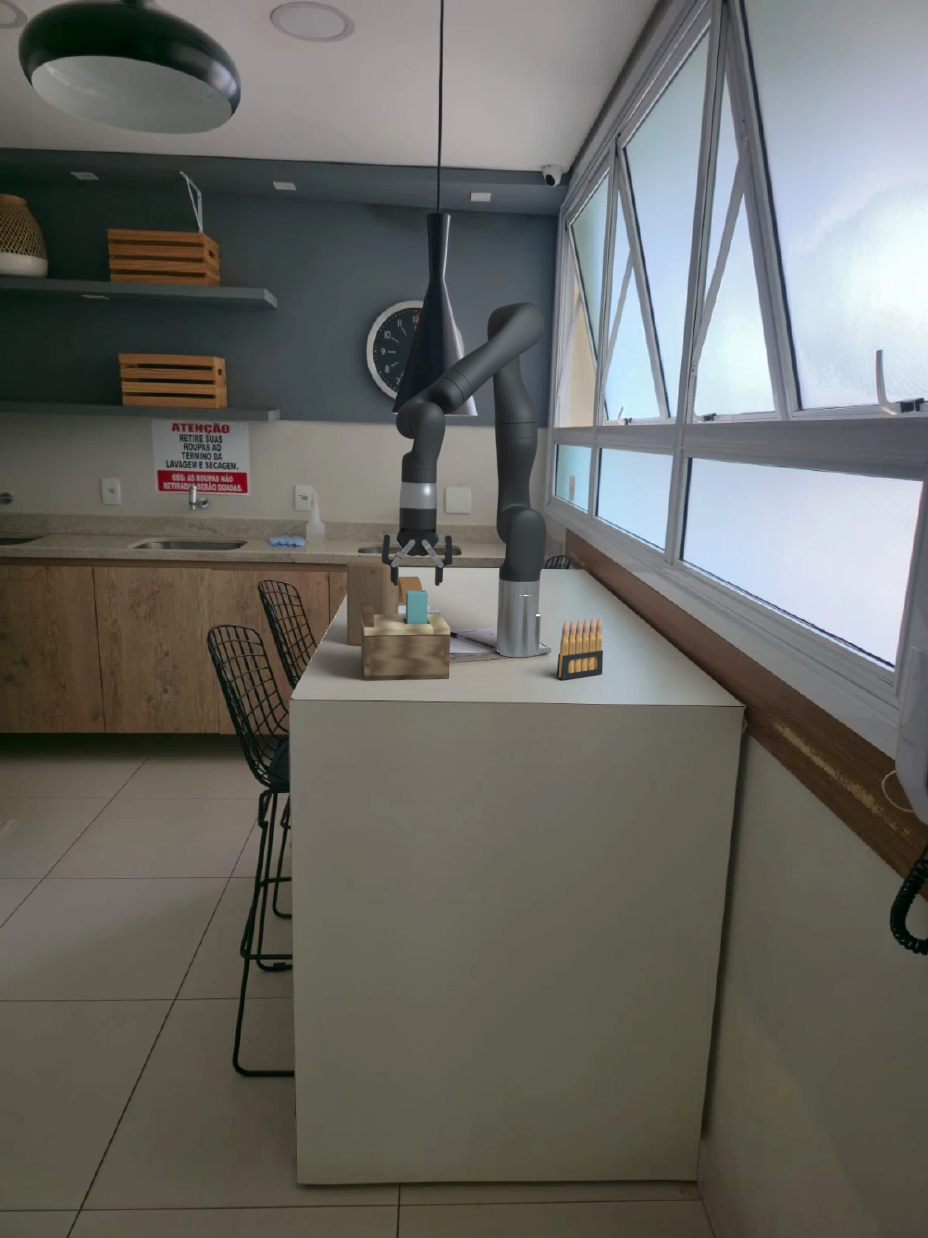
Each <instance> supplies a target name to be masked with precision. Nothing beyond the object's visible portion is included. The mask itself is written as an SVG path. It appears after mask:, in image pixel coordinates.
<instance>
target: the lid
mask: <svg viewBox="0 0 928 1238" xmlns="http://www.w3.org/2000/svg"><path fill="white" fill-rule="evenodd" d="M441 615H442V614H441V613H440V614H427V624H406V614H393V615H374V610H373V607H372V603H362V615H361V621H362V626H363V631H364V636H378V635H445V634H450V635H451V627H450V626H449V625H448V623H447V622H446V620H445V618H444V617H443V615H442V616H441Z"/></svg>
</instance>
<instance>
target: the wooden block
mask: <svg viewBox="0 0 928 1238" xmlns="http://www.w3.org/2000/svg"><path fill="white" fill-rule="evenodd" d="M389 558H390V559H393V557H390V556H389ZM381 559H382V556H369V555H368V556H367V555H361V556H358V557H356V558H353V559H350V560H348V561H347V563H346V637H347V639H346V642H347V644H348V645H350V646H358V647H361V615H362V603H372V607H373V610H374V615H393V614H398V606H399V603H398V593H399V577H400V575H399V574H400V571H399V570H400V568H399V566H400V565H399V564H398V565H397V567H398V586H394V583H392V582H391V579H390V571H391V567H390V566H389V565H387V564H383V562H382V560H381Z"/></svg>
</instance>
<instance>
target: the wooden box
mask: <svg viewBox="0 0 928 1238" xmlns="http://www.w3.org/2000/svg"><path fill="white" fill-rule="evenodd" d="M360 648H361V650H360V651H361V652H360V653H361V655H360V656H361V657H360V658H361V662H360V663H361V667H362V673H363V674H362V675H363V680H364V682H367V681H369V682H370V681H371V682H372V681H373V682H374V681H403V680H404V681H407V680H409V681H410V680H443V679H444V680H445V679H446V680H447V679H448V680H449V679H450V657H451V656H450V655H451V654H450V651H451V633H450V634H445V635H378V636H364V631H363V626H362V621H361V646H360Z"/></svg>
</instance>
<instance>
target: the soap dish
mask: <svg viewBox="0 0 928 1238" xmlns="http://www.w3.org/2000/svg"><path fill="white" fill-rule="evenodd" d="M440 612H441V611H440V610H439V608H437V607H436V606H435V605H433V604H428V605H427V614H441V613H440ZM398 614H406V605H398ZM441 616H442V617H443V615H442V614H441Z"/></svg>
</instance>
